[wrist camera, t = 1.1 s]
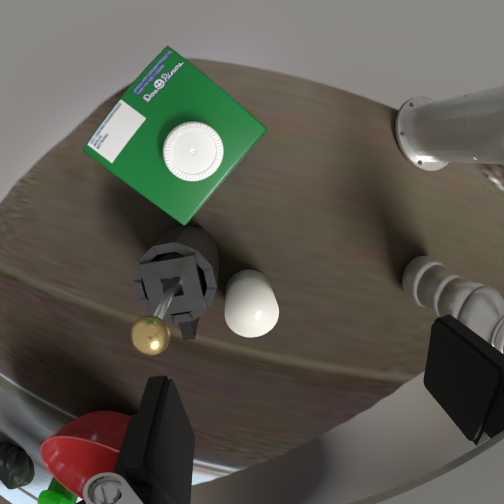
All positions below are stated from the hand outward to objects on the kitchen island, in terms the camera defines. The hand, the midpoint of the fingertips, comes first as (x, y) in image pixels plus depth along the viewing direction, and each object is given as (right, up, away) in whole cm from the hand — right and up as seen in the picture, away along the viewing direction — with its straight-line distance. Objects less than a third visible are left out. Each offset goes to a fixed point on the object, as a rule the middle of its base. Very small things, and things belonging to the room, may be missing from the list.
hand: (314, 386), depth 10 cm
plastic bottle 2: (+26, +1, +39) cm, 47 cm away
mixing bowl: (-30, -35, +45) cm, 64 cm away
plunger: (-11, +2, +27) cm, 30 cm away
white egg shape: (-3, -2, +38) cm, 38 cm away
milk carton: (-9, +18, +33) cm, 38 cm away
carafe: (-11, +3, +36) cm, 38 cm away
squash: (-73, -57, +47) cm, 104 cm away
